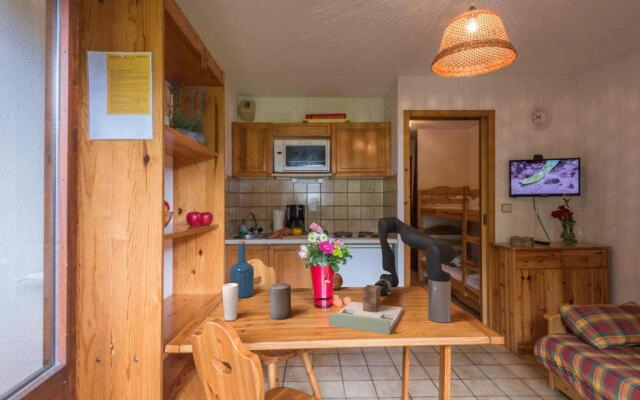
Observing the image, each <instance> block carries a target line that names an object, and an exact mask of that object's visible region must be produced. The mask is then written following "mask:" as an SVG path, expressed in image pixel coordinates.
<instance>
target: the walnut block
mask: <svg viewBox="0 0 640 400" xmlns="http://www.w3.org/2000/svg"><path fill="white" fill-rule="evenodd" d="M362 303H363V311H366V312H374V313H376V312H377V311H378V310H379V308H380V305H381V297H380V286H375V285H374V284H366V285H365V286H364V287H363V288H362Z"/></svg>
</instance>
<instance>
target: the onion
mask: <svg viewBox="0 0 640 400" xmlns="http://www.w3.org/2000/svg"><path fill="white" fill-rule="evenodd" d="M343 284H344V279H343V276H342V275H341V274H340V273H339V272H337V273H335V277H334V289H333V290H336V291H337V290H339V289H340V288H341V287H343Z"/></svg>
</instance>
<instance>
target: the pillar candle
mask: <svg viewBox="0 0 640 400" xmlns="http://www.w3.org/2000/svg"><path fill="white" fill-rule="evenodd" d="M291 285H292V284H290V283H287V282H285V283H283V282H282V283H281V282H280V283H279V282H278V283H273V284H269V286H268V287H269V317H270V318H271V319H272V320H278V321H279V320H286V319H289V318H291V317H292V286H291Z"/></svg>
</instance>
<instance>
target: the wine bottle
mask: <svg viewBox="0 0 640 400" xmlns="http://www.w3.org/2000/svg"><path fill="white" fill-rule="evenodd" d="M246 247H247V246H246V243H245V240H239V242H238V244H237V261H236V263H234V264H232V265H231V266H230V268H229V270H228V275H229V277H228V279H229V282H228V283H236V284H238V299H248V298H250V297H252V296H253V295H254V294H255V268H254V265H253V264H252V263H249V262H248V261H247V256H246V250H247V248H246Z"/></svg>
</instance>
